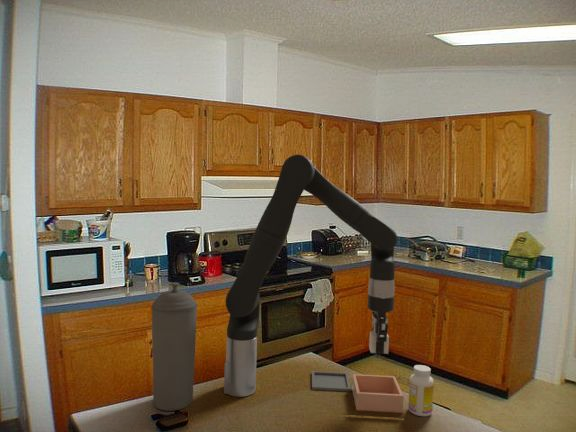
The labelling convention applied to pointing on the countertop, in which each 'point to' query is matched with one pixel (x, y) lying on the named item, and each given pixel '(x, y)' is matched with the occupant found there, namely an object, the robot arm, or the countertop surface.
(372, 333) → the cream rectangular block
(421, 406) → the supplement bottle
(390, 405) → the bin
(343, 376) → the tray
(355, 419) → the countertop surface
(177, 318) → the canister
